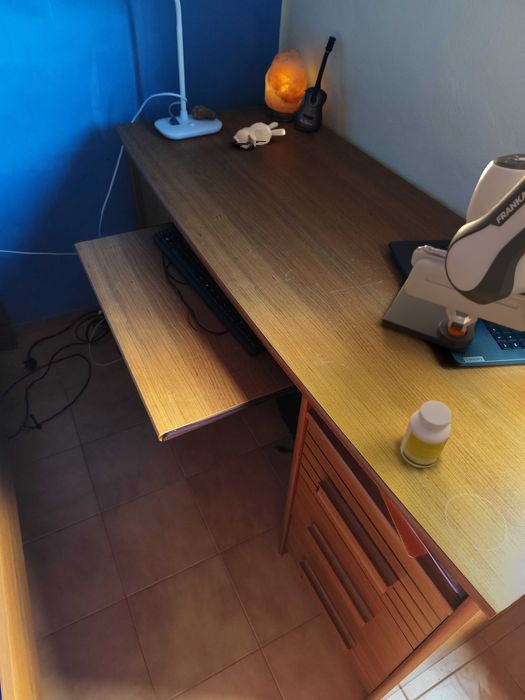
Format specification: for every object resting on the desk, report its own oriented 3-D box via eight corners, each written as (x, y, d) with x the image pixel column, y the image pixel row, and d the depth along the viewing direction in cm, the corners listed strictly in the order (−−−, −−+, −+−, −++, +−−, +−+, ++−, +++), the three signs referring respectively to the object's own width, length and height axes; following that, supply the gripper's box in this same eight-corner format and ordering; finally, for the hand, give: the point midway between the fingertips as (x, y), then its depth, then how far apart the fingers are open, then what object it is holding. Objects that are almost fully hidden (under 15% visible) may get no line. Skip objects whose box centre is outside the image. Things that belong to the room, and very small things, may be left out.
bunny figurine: (229, 127, 142) (274, 114, 144) (232, 144, 146) (275, 130, 148) (239, 139, 136) (286, 124, 138) (242, 156, 140) (287, 141, 142)
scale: (484, 308, 89) (490, 296, 87) (464, 358, 80) (469, 346, 78) (406, 283, 95) (409, 271, 92) (379, 327, 86) (382, 315, 84)
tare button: (465, 332, 82) (468, 325, 81) (461, 343, 80) (464, 336, 79) (448, 326, 83) (451, 319, 82) (443, 337, 81) (446, 330, 80)
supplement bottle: (442, 469, 66) (462, 430, 59) (403, 468, 66) (419, 429, 59) (433, 436, 69) (451, 396, 62) (396, 436, 70) (410, 396, 62)
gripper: (409, 252, 72) (392, 317, 82) (551, 294, 65) (514, 360, 75) (421, 233, 76) (404, 297, 86) (557, 270, 69) (521, 336, 79)
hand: (456, 327), depth 81 cm, fingers closed, pressing on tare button
